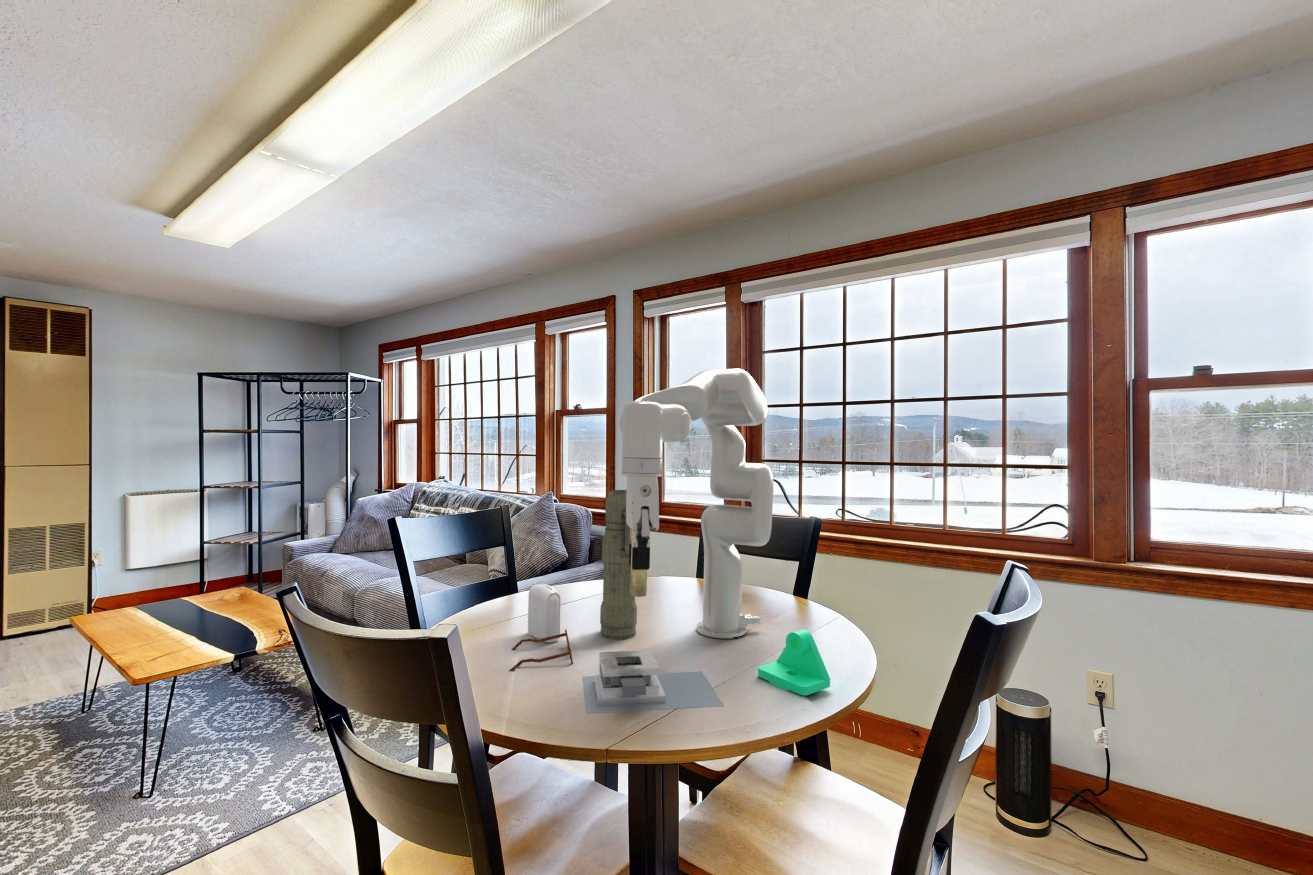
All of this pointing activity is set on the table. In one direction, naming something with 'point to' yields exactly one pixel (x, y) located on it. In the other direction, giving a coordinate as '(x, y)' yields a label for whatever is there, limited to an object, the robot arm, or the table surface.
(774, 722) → the table surface
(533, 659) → the glasses
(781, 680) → the camera mount
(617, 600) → the thermos
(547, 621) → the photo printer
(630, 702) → the clevis
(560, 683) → the table surface
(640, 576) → the pin
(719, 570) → the robot arm
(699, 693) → the mat
